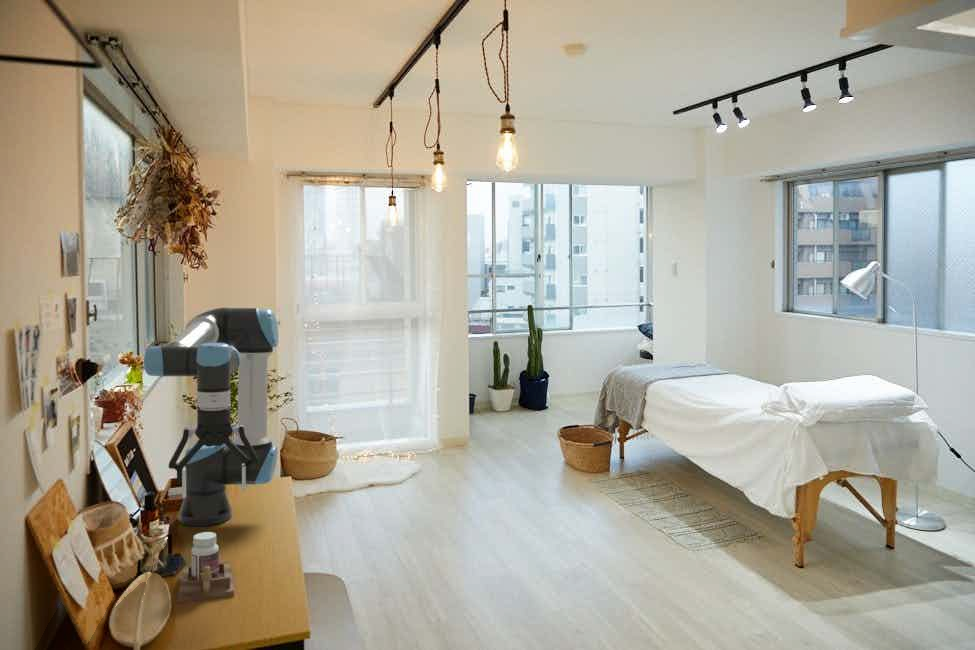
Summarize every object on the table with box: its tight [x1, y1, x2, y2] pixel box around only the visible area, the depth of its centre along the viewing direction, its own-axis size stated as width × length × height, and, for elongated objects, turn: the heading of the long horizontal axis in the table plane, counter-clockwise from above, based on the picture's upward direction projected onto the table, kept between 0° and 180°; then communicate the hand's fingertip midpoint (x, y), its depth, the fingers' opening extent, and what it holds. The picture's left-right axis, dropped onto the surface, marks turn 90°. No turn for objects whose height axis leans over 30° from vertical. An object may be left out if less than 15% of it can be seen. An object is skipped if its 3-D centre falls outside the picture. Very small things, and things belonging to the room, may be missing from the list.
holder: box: [177, 561, 235, 604], centre depth 175 cm, size 14×12×7 cm
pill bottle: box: [190, 531, 220, 581], centre depth 175 cm, size 6×6×11 cm
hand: (214, 493), depth 177 cm, fingers open, 13 cm apart
